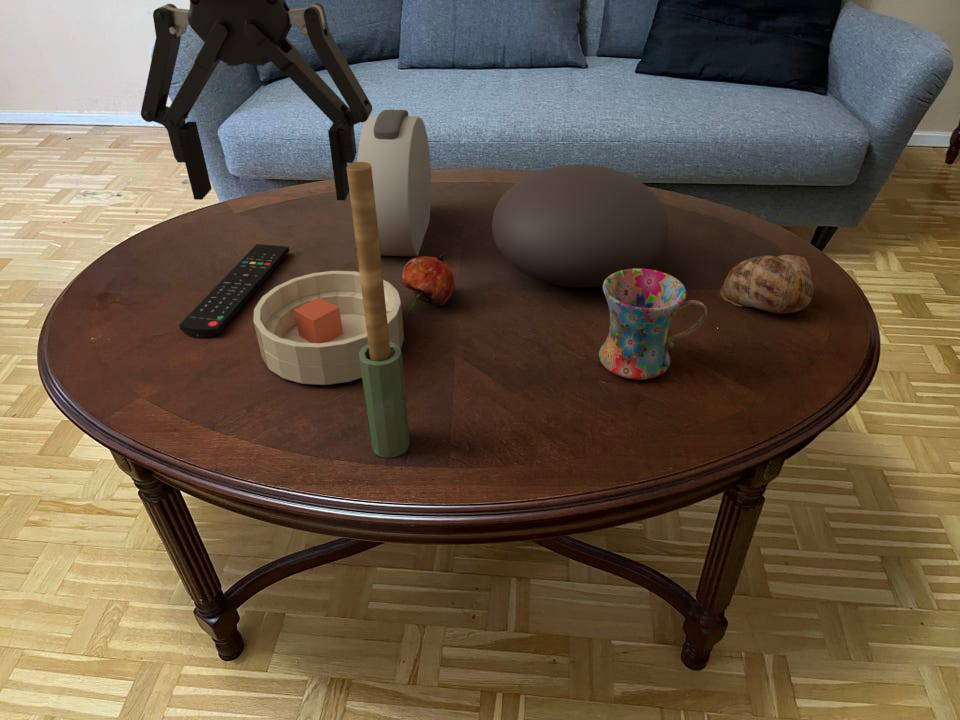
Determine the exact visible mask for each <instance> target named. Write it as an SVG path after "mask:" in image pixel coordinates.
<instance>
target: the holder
mask: <svg viewBox="0 0 960 720" xmlns="http://www.w3.org/2000/svg"><path fill="white" fill-rule="evenodd" d="M389 343H390V352H391V358H390V359H388V360H385V361H380V362H378V361H371V360H370V354H369V345H368V344H367V345H366V346H364V347H362V349H361V350H360V352H359V362H360V369H361V376H362V378H361V382H362V391H363V398H364V405H365V413H366V420H367V428H368V436H369V442H370V443H369V444H370V446H371V451H372V452H373V453H374V454H375V455H376V456H378V457H379V458H385V459H392V458H397V457H399V456H402V455H403V454H405V453H406V451H408V449H409V447H410V431H409V430H410V429H409V419H408V408H407V397H406V386H405V376H404V365H403V352H402V349H401V350H400V347H399V346H398V345H396V344H394V343H393V342H389Z"/></svg>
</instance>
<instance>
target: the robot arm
mask: <svg viewBox="0 0 960 720" xmlns="http://www.w3.org/2000/svg"><path fill="white" fill-rule="evenodd" d="M152 19H153V26H154V32H155V41H154V47H153V51H152V54H151V55H152V56H151V61H150V65H149V70H148V75H147V80H146V85H145V89H144V94H143V98H142V99H143V100H142V104H141V110H140V116H141V119H142V120H143V121H145V122H146V123H152V122H154V123H157V124H159V125H161V126H163V127H164V128H165V129H166V131H167V134H168V138H169V142H170V146H171V150H172V153H173V157H174V159H175V160H176V162H177V163H184V164H185V169H186V172H187V177H188V180H189V184H190V187H191V192H192V196H193V200H195V201H197V200H198V201H199V200H200V201H201V200H204V199H205V197H206V196H207V195H208V194H209V193H210V191H211V190H212V189H213V188H212V184H211V179H210V176H209V175H210V174H209V171H208V167H207V163H206V159H205V158H206V157H205V154H204V150H203V149H204V148H203V146H202V142H201V138H200V137H201V136H200V132H199V128H198V125H197V121H186V120H187V119H188V118H189V114H190V112H191V111H192V109H193V107H194V106H195V104H196V102H197V100H198V99H199V97H200V95H201V93H202V92H203V90H204V89H205V87H206V85H207V83H208V82H209V80H210V78H211V77H212V75H213V73H214V71H215V69H216V68H217V67H218V65H219V64H220V62H223V63H225V64H226V66H229V67H237V66H240V65H244V64H247V65H251V66H254V67H258V66H259V67H261V66H265V65H266V64H269V63H270V62H271V63H272V64H273V65H274V66H275V67H276V68H277V69H278V70H279V71H281V72H283V73H284V74H285V75H287V76H288V78H289V79H290V80H291V81H292V82H293V83H294V84H295V85H296V86H297V87H298V88H299V89H300V90H301V92H303V93H304V94H305V95H306V96H307V97H308V99H309V100H310V101H311V102H312V103H313V104H314V105H315V106H316V107H317V108H318V109H319V110H320V111H321V112H322V113H323V114H324V115H325V116H326V117H327V118H328V119H329V120H330V121H331V123H332V124H331V126H330V127H329V129H328V130H327V134H328V142H329V148H330V157H331V164H332V171H333V179H334V187H335V195H336V201H346V200H347V197H348V196H349V194H350V192H349V184H348V176H347V165H348V164H351V163H354V160H355V159H356V155H357V154H358V151H357V144H356V135H355V133H356V132H355V125H357V124H359V123H365V122H366V121H367V119H368V118H369V117H370V116H371V114H372V111H373V104H372V103H371V101H370V100H369V98H368V96H367V94H366V93H365V91H364V89H363V87H362V85H361V84H360V82H359V80H358V79H357V77H356V75H355V74H354V72H353V70H352V68H351V66H350V65H349V63H348V61H347V60H346V58H345V56H344V55H343V53H342V51H341V49H340V48H339V46H338V44H337V42H336V41H335V39H334V37H333V35H332V34H331V32H330V29H329V24H328V20H327V16H326V12H325V9H324V6H323V5H322V4H321V3H319V2H314V3H312V4H310V6H307V7H299V8H292V9H290V7H289V6H288V4H287V2H286V0H189V9H187V8H178V7H177V5H175V4H173V3H166V4H164V5H163V6H160V7H157V8H156V9H154V10H153V12H152ZM188 26H190V28H191V29H192V30H193V31H194V33H195V35H197V36H198V37H199V38H200V40H201V41H202V42H203V43H204V44H203V45H202V47H201V48H200V50H199V52H198V54H197V56H196V57H195V59H194V63H193V65H192V67H191V68H190V70H189V72H188V73H187V76H186V77H185V79H184V81H183V83H182V85H181V86H180V88H179V89H178V91H177V93H176V95H175V96H174V99H173V100H172V102H171V104H170V106H167V103H168V100H169V99H168V98H169V94H170V89H171V86H172V82H173V81H172V80H173V76H174V72H175V68H176V64H177V58H178V55H179V51H180V47H181V40H182V36H183V35H185V34H186V33H187V28H188ZM292 26H295V27H297V28H298V29H299V31H300V33H301V35H303V36H304V37H308V39H309V42H310V44H311V46H312V48H313V49H314V50H313V51H314V52H315V53H316V54H317V56H318V58H319V59H320V61H321V63H322V65H323V67H324V68H325V70H326V71H327V73H328V75H329V76H330V78H331V80H332V81H333V83H334V85H335V87H336V89H338V91H339V93H340V95H341V97H342V99H341V98H340V96H339V95H338V94H337V93H336V92H335V91H334V90H333V89H332V88H331V86H329V85H328V83H327V82H325V80H323V78H322V77H321V76H320V75H319V74H318V73H317V72H316V71H315V70H314V68H313V67H311V66H310V64H309V63H308V62H307V61H306V60H305V59H304V58H303V57H302V56H301V54H300V51H299V50H298V48H296V47H295V45H293V44H292V42H291V41H290V40H289V39H288V38H287V36H288V35H289V33H290V31H291V28H292ZM343 100H344V101H343Z"/></svg>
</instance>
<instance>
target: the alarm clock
mask: <svg viewBox="0 0 960 720" xmlns="http://www.w3.org/2000/svg"><path fill="white" fill-rule="evenodd" d="M361 129H362V130H361V133H360V137H359V143H358V151H357V158H356V162H367V163H370V164H371V167H372V177H373V186H374V196H375V206H376V216H377V225H378V235H379V245H380V255H381V257H388V256H389V257H411V258H417V257H419V253H420V250H421V248H422V245H423V242H424V238H425V236H426V233H427V231H428V227H429V224H430V219H431V201H432V200H431V199H432V172H431V155H430V145H429V138H428V133H427V129H426V124H425V122H424V120H423V118H421V117H420V116H417V115H415V116H414V115H409V111H408V110H406V109H384V110H382V111H380V113H379V114H378V115H370V116H369V118H368V119H367V121H365V122H364V124H363V127H362V128H361Z"/></svg>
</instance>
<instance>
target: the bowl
mask: <svg viewBox="0 0 960 720" xmlns="http://www.w3.org/2000/svg"><path fill="white" fill-rule="evenodd" d="M383 284H384V294H385V304H386V313H387V323H388V333H389V342H393V343H394V344H396V345H398V346H399V347H400V350H401V351H402V347H403V344H404V340H405V333H404V323H403V322H404V321H403V310H402V300H401V297H400V294H399V291H398V290H397V289H396V288H395V287H394V286H393V285H392V284H391V283H390V282H389V281H388V280H385V279H383ZM319 297H320V298H322V299H324V300H326V301H328V302H329V303H331V304H333V305H335V306H337V307H339V310H340V317H341V324H342V330H343V334H342V335H340V336H338V337H336V338H334V339H333V340H331V341H329V342H326V343H311V342H309V341H307V340H305V339H304V338H302V337H300V336H299V332H298V327H297V322H296V317H295V312H294V309H296V308H298V307H300V306H302V305H304V304H306V303H308V302H310V301H312V300H314V299H316V298H319ZM252 320H253V325H254V329H255V335H256V339H257V342H258V345H259V351H260V356H261V359H262V360H263V362H264V364H265V365H266V367H267V368H268V370H269V371H271V372H273V373H274V374H276V375H277V376H278V377H280V378H281V379H284V380H287V381H290V382H295V383H298V384H302V385H317V386H318V385H319V386H328V385H335V384H342V383H349V382H353V381H357V380H358V379H362V376H361V369H360V362H359V352H360V350H361V349H362V347H364V346H366V345H367V344H368V337H367V329H366V321H365V313H364V305H363V297H362V289H361V281H360V273H359V271H353V270H329V271H319V272H313V273H308V274H304V275H301V276H297V277H294V278H292V279H289V280H287V281H285V282H283V283H281V284H278V285H276V286H274V287H273V288H271V290H269V291H268V292H267V293H265V294H264V295H263V296H261V298H260V299H259V300H258V301H257V304H256V305H255V307H254V309H253V319H252Z"/></svg>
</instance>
